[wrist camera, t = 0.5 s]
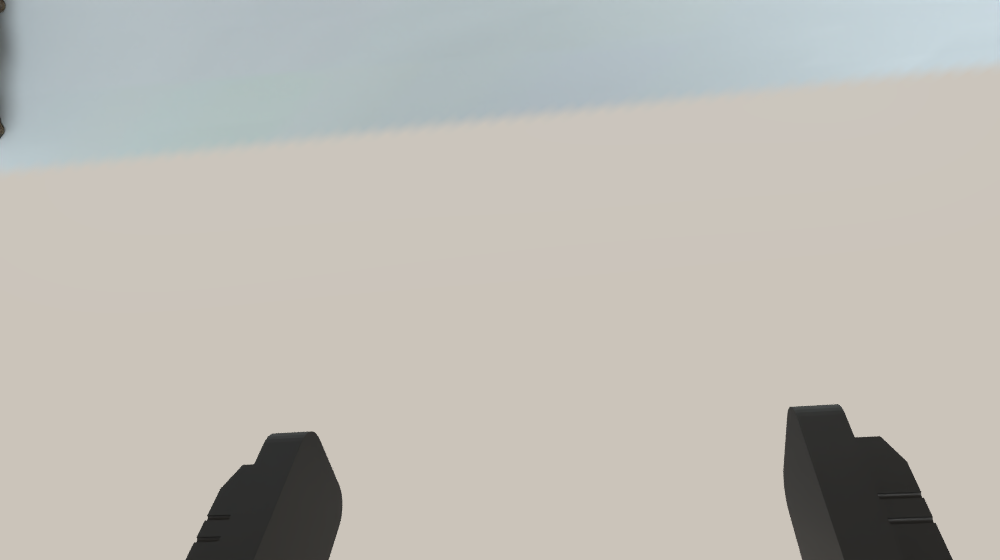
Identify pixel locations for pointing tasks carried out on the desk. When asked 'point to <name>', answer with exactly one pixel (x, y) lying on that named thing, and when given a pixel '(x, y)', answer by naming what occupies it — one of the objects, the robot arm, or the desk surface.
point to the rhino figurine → (0, 7)
